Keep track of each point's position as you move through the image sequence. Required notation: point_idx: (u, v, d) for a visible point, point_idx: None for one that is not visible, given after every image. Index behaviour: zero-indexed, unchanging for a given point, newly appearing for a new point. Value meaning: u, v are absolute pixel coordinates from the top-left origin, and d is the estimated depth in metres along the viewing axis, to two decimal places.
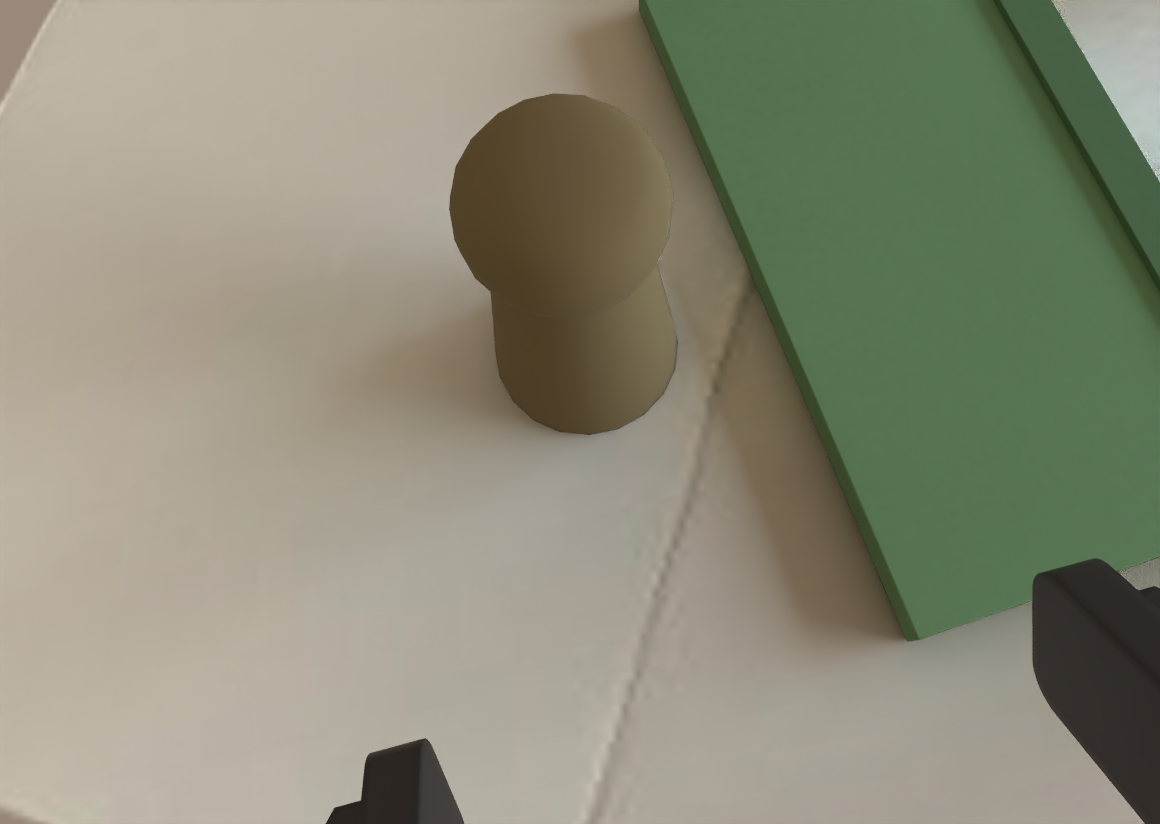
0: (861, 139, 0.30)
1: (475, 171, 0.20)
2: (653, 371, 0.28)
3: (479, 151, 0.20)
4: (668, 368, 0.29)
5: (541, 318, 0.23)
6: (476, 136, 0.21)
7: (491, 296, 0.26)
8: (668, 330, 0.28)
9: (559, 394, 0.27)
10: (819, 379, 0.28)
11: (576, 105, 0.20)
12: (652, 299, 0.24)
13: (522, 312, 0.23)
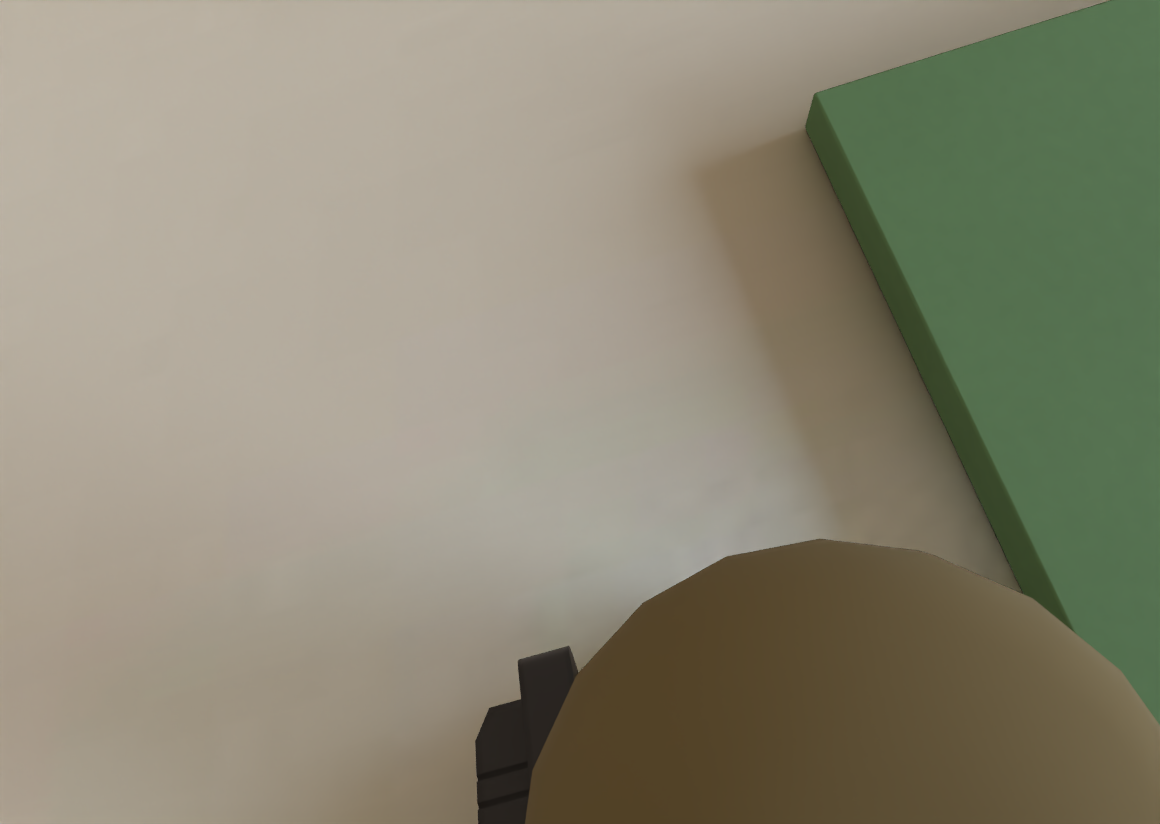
0: None
1: None
2: None
3: (628, 798, 0.06)
4: None
5: None
6: (612, 718, 0.06)
7: None
8: None
9: None
10: None
11: (942, 639, 0.06)
12: None
13: None
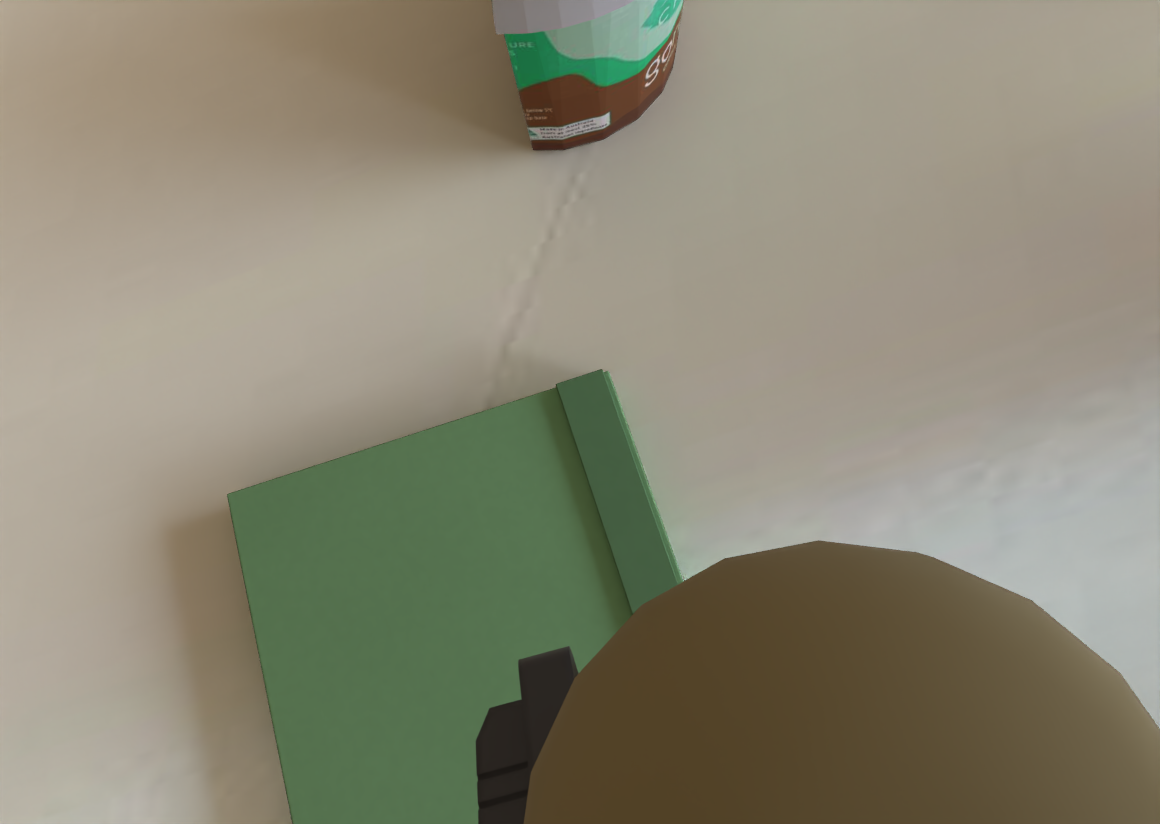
0: (438, 711, 0.27)
1: None
2: None
3: (626, 801, 0.06)
4: None
5: None
6: (610, 720, 0.06)
7: None
8: None
9: None
10: None
11: (941, 640, 0.06)
12: None
13: None
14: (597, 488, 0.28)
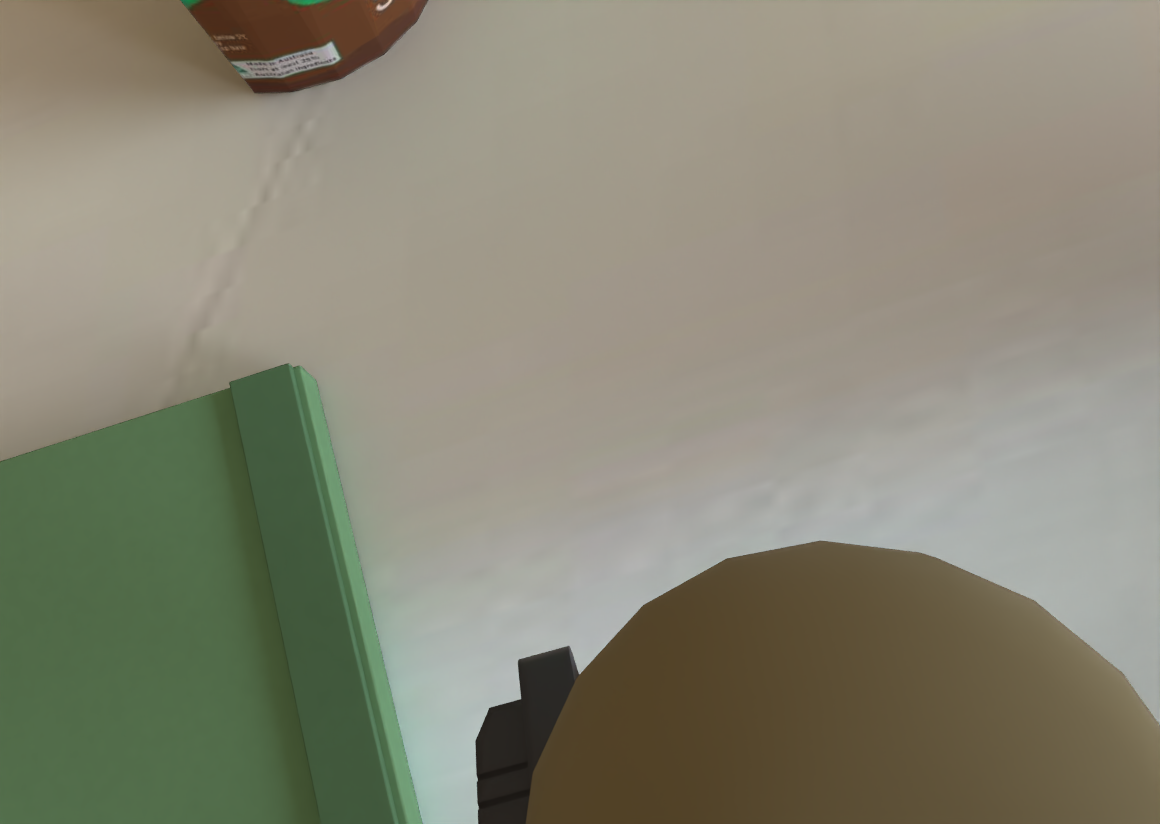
0: (37, 807, 0.21)
1: None
2: None
3: (629, 801, 0.06)
4: None
5: None
6: (612, 720, 0.06)
7: None
8: None
9: None
10: None
11: (943, 641, 0.06)
12: None
13: None
14: (265, 516, 0.22)
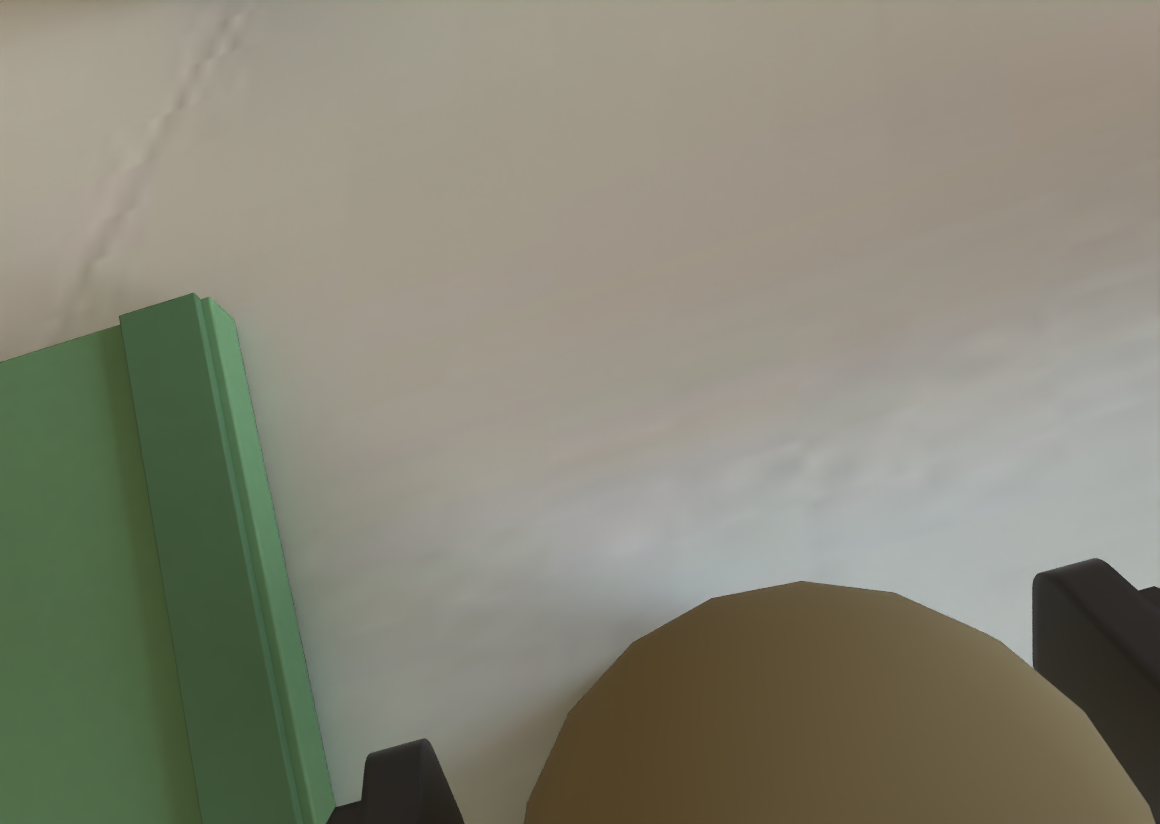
0: None
1: None
2: None
3: None
4: None
5: None
6: (601, 758, 0.07)
7: None
8: None
9: None
10: None
11: (913, 686, 0.07)
12: None
13: None
14: (157, 481, 0.17)
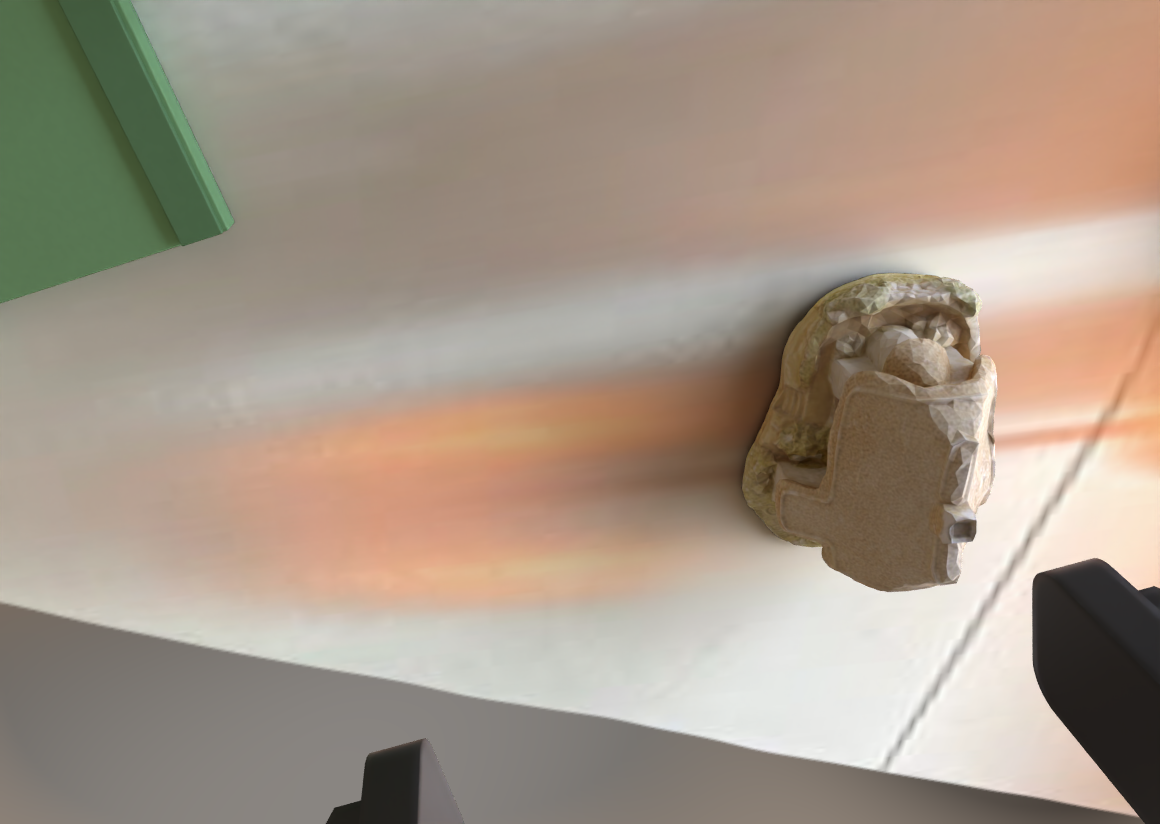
0: None
1: None
2: None
3: None
4: None
5: None
6: None
7: None
8: None
9: None
10: None
11: None
12: None
13: None
14: None
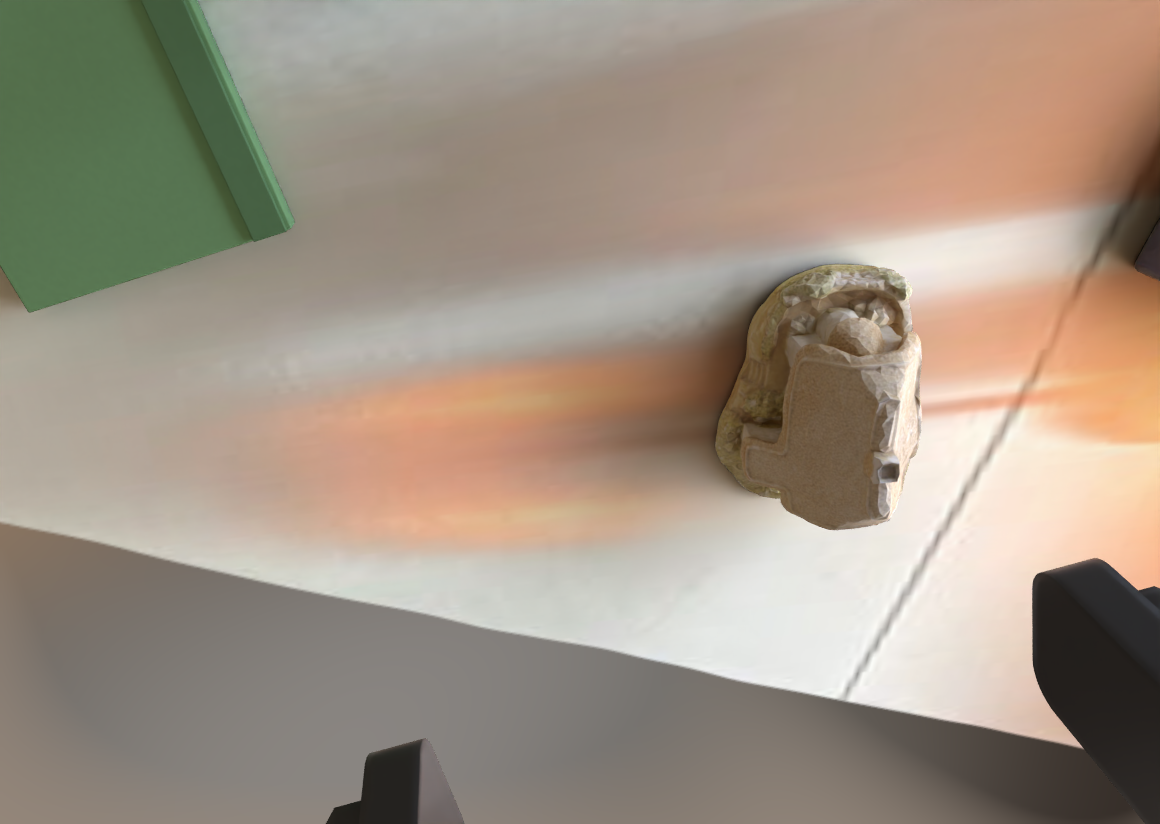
0: None
1: None
2: None
3: None
4: None
5: None
6: None
7: None
8: None
9: None
10: None
11: None
12: None
13: None
14: None
